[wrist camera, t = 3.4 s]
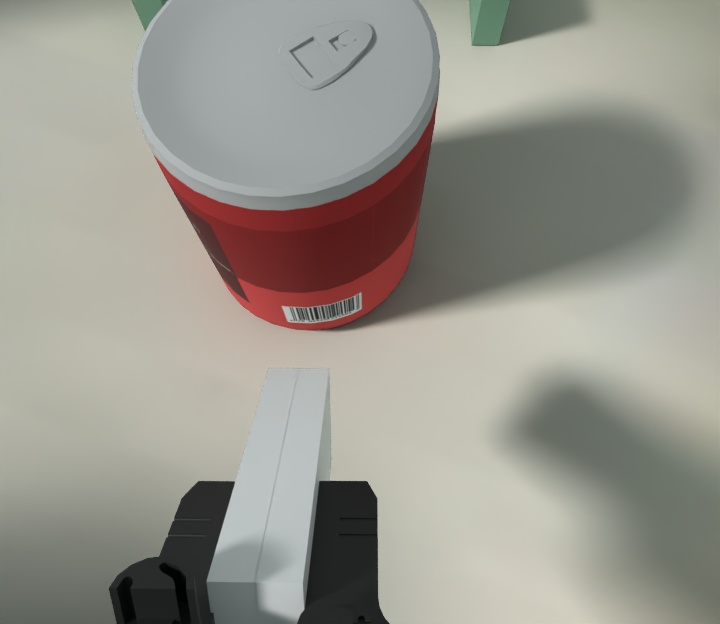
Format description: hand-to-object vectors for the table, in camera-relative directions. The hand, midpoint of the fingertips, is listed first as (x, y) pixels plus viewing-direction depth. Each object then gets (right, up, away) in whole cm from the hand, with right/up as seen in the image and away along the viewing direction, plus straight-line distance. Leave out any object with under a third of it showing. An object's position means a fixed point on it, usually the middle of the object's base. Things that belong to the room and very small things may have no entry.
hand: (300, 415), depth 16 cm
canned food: (0, +5, +10) cm, 12 cm away
